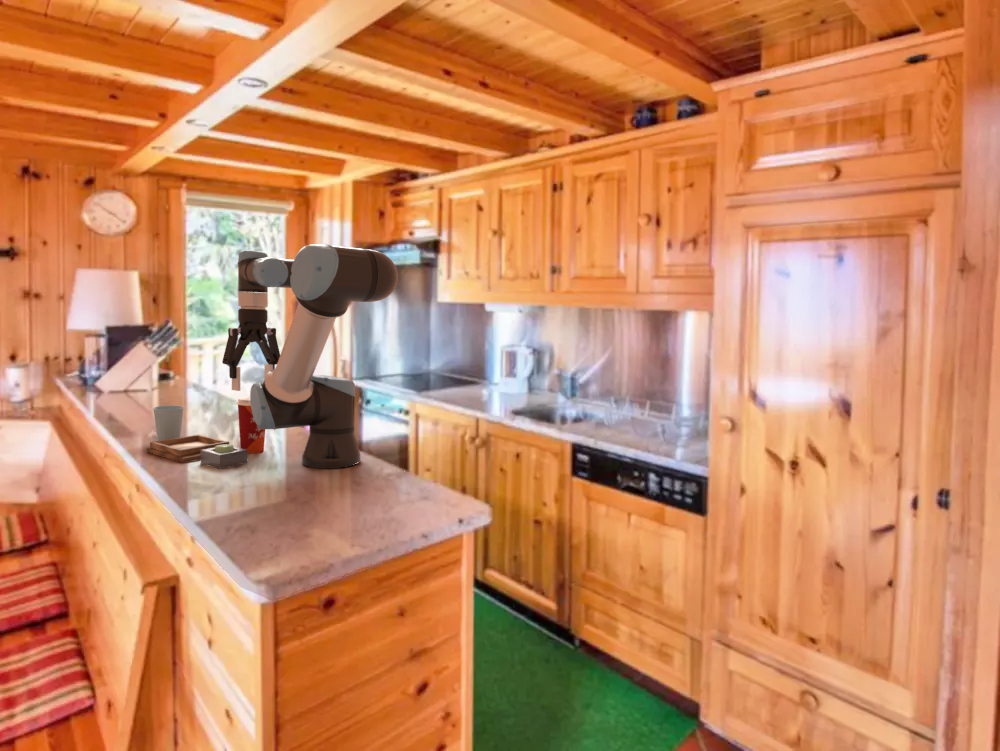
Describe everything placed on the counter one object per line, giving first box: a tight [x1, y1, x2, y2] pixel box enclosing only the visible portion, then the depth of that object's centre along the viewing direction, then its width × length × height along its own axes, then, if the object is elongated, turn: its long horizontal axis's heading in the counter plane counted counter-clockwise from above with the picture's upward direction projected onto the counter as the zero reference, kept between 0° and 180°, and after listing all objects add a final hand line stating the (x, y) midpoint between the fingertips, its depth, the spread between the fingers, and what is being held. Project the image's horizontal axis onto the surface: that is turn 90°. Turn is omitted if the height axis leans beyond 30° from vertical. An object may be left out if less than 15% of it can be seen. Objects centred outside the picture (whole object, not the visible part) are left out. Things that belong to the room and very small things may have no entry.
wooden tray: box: [146, 433, 230, 464], centre depth 174 cm, size 17×15×3 cm
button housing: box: [200, 445, 249, 470], centre depth 164 cm, size 8×8×4 cm
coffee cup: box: [236, 396, 266, 454], centre depth 178 cm, size 8×8×15 cm
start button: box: [215, 443, 234, 453], centre depth 164 cm, size 4×4×4 cm
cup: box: [152, 405, 184, 441], centre depth 183 cm, size 8×8×10 cm
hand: (252, 388), depth 177 cm, fingers open, 10 cm apart
